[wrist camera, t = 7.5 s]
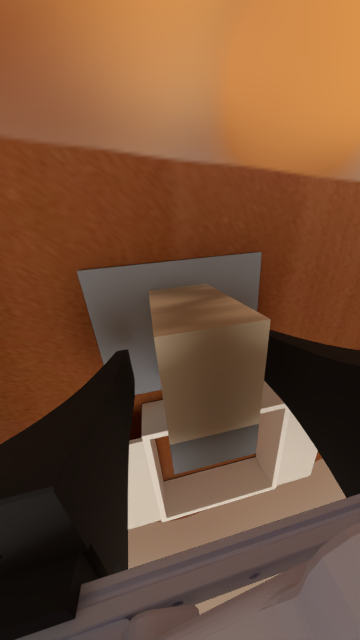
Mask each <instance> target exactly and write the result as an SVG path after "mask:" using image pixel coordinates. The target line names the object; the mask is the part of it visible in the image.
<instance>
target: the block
mask: <svg viewBox="0 0 360 640" xmlns="http://www.w3.org/2000/svg"><path fill="white" fill-rule="evenodd" d="M148 292H149V300H150V309H151V317H152V326H153V335H154V342H155V349H156V355H157V362H158V368H159V375H160V382H161V388H162V395H163V402H164V408H165V415H166V422H167V428H168V435H169V441H170V448H171V455H172V461H173V468H174V474H178V473H182V472H186V471H190V470H193V469H197V468H201V467H205V466H209V465H212V464H216V463H220V462H224V461H228V460H231V459H235V458H239V457H243V456H247V455H250V454H254V453H256V447H257V438H258V429H259V420H260V411H261V402H262V393H263V384H264V375H265V366H266V357H267V348H268V339H269V330H270V321H271V319H269V318H268V317H266V316H264V315H262V314H260V313H259V312H257V311H255V310H253V309H251V308H250V307H248V306H246V305H244V304H242V303H241V302H239V301H237V300H235V299H233V298H231V297H230V296H228V295H226V294H224V293H222V292H221V291H219V290H217V289H215V288H213V287H212V286H210V285H208V284H199V285H191V286H183V287H174V288H166V289H158V290H149V291H148Z"/></svg>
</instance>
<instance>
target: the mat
mask: <svg viewBox="0 0 360 640" xmlns="http://www.w3.org/2000/svg"><path fill="white" fill-rule="evenodd" d="M261 255H262V252H253V253H243V254H234V255H224V256H214V257H204V258H195V259H185V260H175V261H166V262H156V263H146V264H137V265H127V266H117V267H107V268H98V269H88V270H79V271H77V273H78V277H79V280H80V284H81V287H82V291H83V294H84V298H85V301H86V305H87V308H88V312H89V315H90V319H91V322H92V326H93V329H94V333H95V336H96V339H97V343H98V346H99V350H100V353H101V357H102V360H103V364H104V365H105V364H106V362H107V361H108V360H109V359H110V358H111V357H112V356H113V355H114V353H115V352H116V351H120V350H126V349H128V351H129V355H130V360H131V364H132V369H133V373H134V378H135V395H137V394H142V393H147V392H152V391H157V390H162V388H161V382H160V375H159V368H158V362H157V355H156V349H155V342H154V335H153V326H152V317H151V309H150V300H149V292H148V291H149V290H158V289H166V288H174V287H183V286H191V285H199V284H208V285H210V286H212V287H213V288H215V289H217V290H219V291H221V292H222V293H224V294H226V295H228V296H230V297H231V298H233V299H235V300H237V301H239V302H241V303H242V304H244V305H246V306H248V307H250V308H251V309H253V310H255V311H257V307H258V294H259V281H260V268H261Z"/></svg>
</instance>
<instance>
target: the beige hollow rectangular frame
mask: <svg viewBox="0 0 360 640" xmlns="http://www.w3.org/2000/svg"><path fill="white" fill-rule="evenodd" d="M163 436H168V428H167V422H166V415H165V408H164V402H163V400H159V401H155V402H150V403H145V404H142V438H138V439H134V440H130V441H129V465H128V530H129V529H132V528H135V527H139V526H142V525H146V524H149V523H152V522H156V521H159V520H162V522H165V521H169V520H172V519H175V518H179V517H182V516H185V515H189V514H192V513H195V512H199V511H202V510H205V509H209V508H212V507H215V506H219V505H222V504H226V503H229V502H232V501H236V500H239V499H242V498H246V497H249V496H252V495H256V494H259V493H262V492H266V491H269V490H272V489H276V486H277V485H280V484H283V483H287V482H290V481H294V480H297V479H300V478H303V477H307V476H310V474H311V471H312V468H313V464H314V461H315V458H316V454H317V451H318V450H317V449H316V447H315V445H314V444H313V442H312V441H311V440H310V438H309V437H308V435H307V434H306V432H305V431H304V429H303V428H302V426H301V425H300V424H299V422H298V421H297V419H296V418H295V417H294V415H293V414H292V413H291V411H290V410H289V408H288V407H287V406H286V405H285V404H284V402H283V401H282V400H281V399H280V398H279V397H278V395H277V394H276V393H275V392H274V391H273V390H272V389H271V388H270V386H269V385H268V384H267V383H266V382H265V381H264V384H263V393H262V402H261V411H260V420H259V430H258V439H257V449H256V457H254V458H250V459H246V460H242V461H239V462H235V463H231V464H228V465H224V466H220V467H216V468H213V469H209V470H205V471H202V472H198V473H194V474H190V475H187V476H183V477H179V478H175V479H172V480H168V481H164V482H163V477H162V472H161V467H160V462H159V457H158V452H157V447H156V442H155V438H159V437H163Z"/></svg>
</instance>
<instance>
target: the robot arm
mask: <svg viewBox="0 0 360 640" xmlns="http://www.w3.org/2000/svg"><path fill="white" fill-rule="evenodd" d="M264 381H265V382H266V383H267V384H268V385H269V386H270V388H271V389H272V390H273V391H274V392H275V393H276V394H277V395H278V397H279V398H280V399H281V400H282V401H283V402H284V404H285V405H286V406H287V407H288V408H289V410H290V411H291V413H292V414H293V415H294V417H295V418H296V419H297V421H298V422H299V424H300V425H301V426H302V428H303V429H304V431H305V432H306V434H307V435H308V437H309V438H310V440H311V441H312V442H313V444H314V445H315V447H316V449H317V450H318V452H319V453H320V455H321V456H322V458H323V460H324V461H325V463H326V464H327V466H328V467H329V469H330V471H331V472H332V474H333V476H334V477H335V479H336V481H337V482H338V484H339V486H340V488H341V489H342V491H343V493H344V494H345V496H346V498H345V499H342V500H339V501H336V502H333V503H330V504H327V505H324V506H321V507H318V508H314V509H312V510H308V511H305V512H302V513H299V514H296V515H293V516H290V517H287V518H284V519H281V520H278V521H275V522H272V523H268V524H265V525H262V526H259V527H256V528H253V529H250V530H247V531H244V532H241V533H238V534H235V535H232V536H229V537H226V538H222V539H219V540H216V541H213V542H210V543H207V544H204V545H201V546H198V547H195V548H192V549H189V550H186V551H183V552H179V553H176V554H173V555H170V556H167V557H164V558H161V559H158V560H155V561H152V562H149V563H146V564H143V565H140V566H137V567H134V568H130V569H128V465H129V441H130V431H131V423H132V415H133V407H134V399H135V378H134V373H133V369H132V364H131V360H130V355H129V351H128V349H126V350H120V351H116V352H115V353H114V355H113V356H112V357H111V358H110V359H109V360H108V361H107V362H106V364H105V365H104V366H103V367H102V368H101V369H100V370H99V371H98V372H97V373H96V374H95V375H94V376H93V377H92V378H91V379H90V380H89V381H88V382H87V383H86V384H85V385H84V386H83V387H82V388H81V389H80V390H78V391H77V392H76V393H75V394H74V395H72V396H71V397H70V398H69V399H68V400H66V401H65V402H64V403H62V404H61V405H60V406H58V407H57V408H56V409H54V410H53V411H51V412H50V413H49V414H47V415H46V416H44V417H43V418H42V419H40V420H39V421H37V422H36V423H34V424H33V425H31V426H30V427H28V428H27V429H25V430H23V431H22V432H20V433H19V434H17V435H15V436H14V437H12V438H10V439H9V440H7V441H5V442H4V443H2V444H0V640H360V350H354V349H347V348H341V347H336V346H331V345H326V344H321V343H317V342H313V341H309V340H305V339H301V338H297V337H293V336H290V335H286V334H283V333H279V332H276V331H272V330H269V339H268V348H267V357H266V366H265V375H264ZM282 572H283V573H282ZM279 573H281V574H279ZM276 574H279V575H277V576H275V577H273V578H271V579H269V580H267V581H265V582H264V583H262V584H260V585H257V586H256V587H254V588H252V589H250V590H248V591H246V592H244V593H242V594H240V595H238V596H236V597H234V598H232V599H230V600H228V601H226V602H224V603H222V604H221V605H218V606H216V607H214V608H212V609H211V610H209V611H207V612H205V613H203V614H201V615H199V610H198V608H197V607H196V606H195V604H198V603H201V602H203V601H206V600H209V599H212V598H214V597H217V596H219V595H222V594H225V593H228V592H231V591H233V590H236V589H239V588H241V587H244V586H246V585H249V584H252V583H255V582H257V581H260V580H263V579H265V578H268V577H271V576H274V575H276Z"/></svg>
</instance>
